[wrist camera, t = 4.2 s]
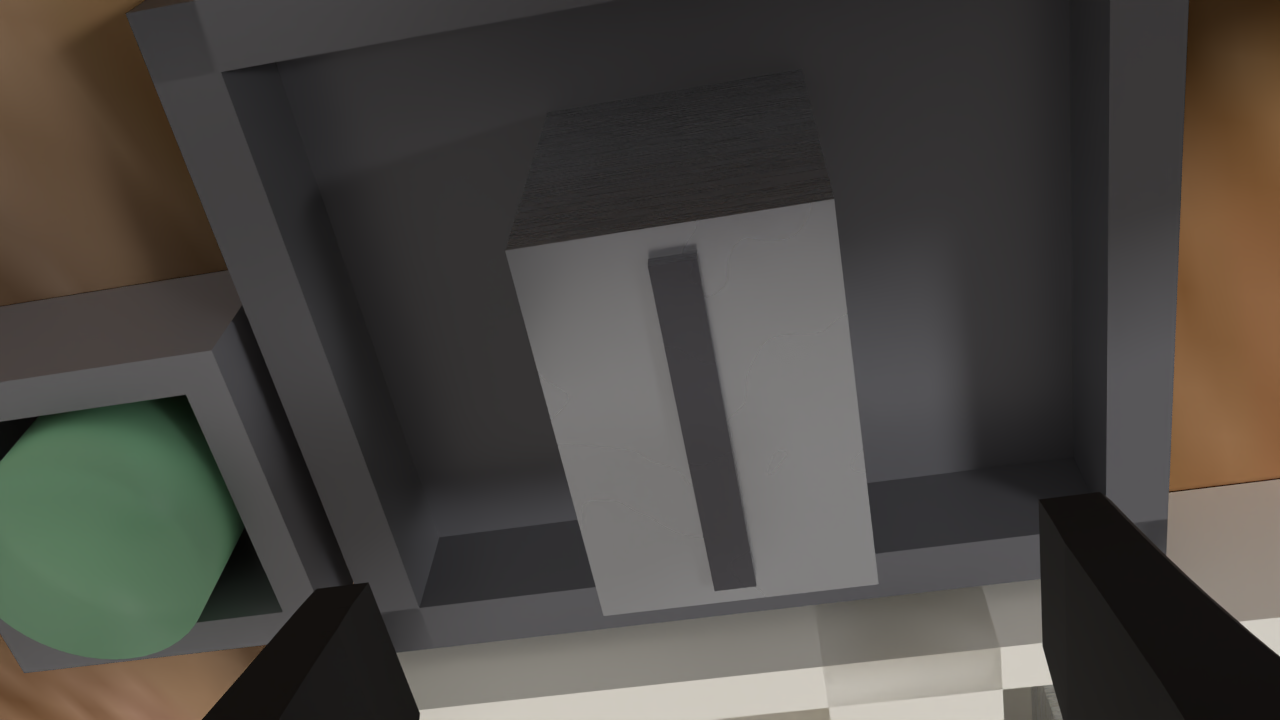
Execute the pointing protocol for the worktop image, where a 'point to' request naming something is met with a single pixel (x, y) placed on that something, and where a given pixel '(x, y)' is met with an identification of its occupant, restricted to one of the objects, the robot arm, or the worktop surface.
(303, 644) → the robot arm
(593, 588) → the tote
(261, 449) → the button housing
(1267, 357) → the worktop surface
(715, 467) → the block
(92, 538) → the button
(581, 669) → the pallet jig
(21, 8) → the worktop surface
